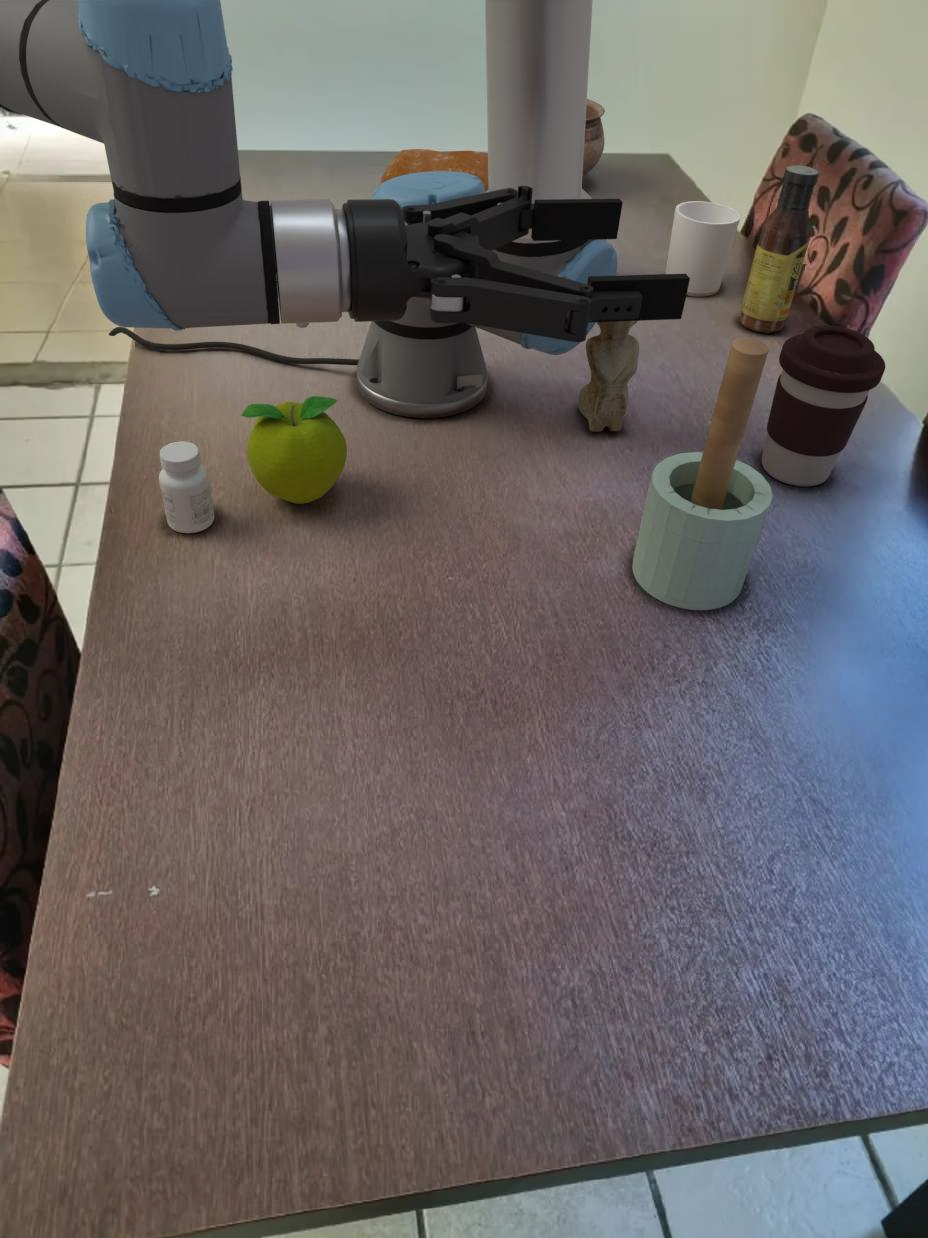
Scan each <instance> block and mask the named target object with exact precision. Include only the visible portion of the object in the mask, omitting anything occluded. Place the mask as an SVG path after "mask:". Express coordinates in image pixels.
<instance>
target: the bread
mask: <svg viewBox="0 0 928 1238" xmlns="http://www.w3.org/2000/svg"><path fill="white" fill-rule="evenodd" d="M430 171H451V172H462V173H468V174H471V175H474V176H477V177H478V178H479V179H480V180H481V181H482V182H483V184H484V190H485V192H486V191H487V190H488V152H482V151H475V150H451V151H450V150H449V151H440V150H439V151H438V150H433V149H429V148H428V149H427V148H426V149H425V148H410V149H402V150H401V151H399V152H398V153H397V154H396V155H395V156H393V158H392V159H391V161H390V162H389V164H388V165H387V167H386V168H385V170H384V172H383V173H382V176H381V179H380V181H379V185H381V184H382V183H384V182H385V181H387V180H390V179H392V178H395V177H399V176H402V175H407V174H412V173H420V172H430Z"/></svg>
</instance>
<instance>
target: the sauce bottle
mask: <svg viewBox="0 0 928 1238" xmlns="http://www.w3.org/2000/svg"><path fill="white" fill-rule="evenodd" d="M819 175H820V172H819V170H817V169H815V168H813V167H810V166H806V165H799V164H798V165H797V164H795V165H788V166H786V167H785V170H784V173H783V177H782V188H781V191H780V195H779V198H778V199H777V206H776V208H775V209H773V211H771V213H770V214H769V215H768V216H767V218H766V219H765V221H764V222H763V224H762V227H761V232H760V236H759V239H758V242H757V244H756V248H755V251H754V255H753V260H752V263H751V267H750V271H749V276H748V280H747V283H746V287H745V291H744V296H743V299H742V303H741V306H740V310H741V311H740V315H739V323H740V324H741V325H742V326H743V327H744V328H746V329H748V330H750V331H753V332H756V333H757V332H758V333H764V334H770V333H775V332H779V331H781V330H782V329H783V328H784V326H785V323H786V320H787V318H788V317H789V314H790V310H791V307H792V302H793V299H794V297H795V293H796V288H797V286H798V283H799V279H800V276H801V272H802V268H803V265H804V261H805V258H806V254H807V251H808V247H809V245H810V240H811V233H810V232H811V231H810V212H809V208H810V204H811V203H810V202H811V199H812V196H813V192H814V189H815V186H816V185H817V183H818V180H819Z"/></svg>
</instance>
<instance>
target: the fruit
mask: <svg viewBox="0 0 928 1238" xmlns="http://www.w3.org/2000/svg"><path fill="white" fill-rule="evenodd" d="M337 402H338V399H336V398H334V397H333V398H332V397H328V396H319V395H317V396H316V395H313V396H309V397H307V398H306V399H304V401H303V402H296V401H285V402H282V403H280V404H277V405H275V406H274V405H272V404H269V403H251V404H248V405H247V406H246V407H245V409H244V410H243V411H242V413H241V414H240V416H242V417H244V418H249V419H251V418H256V420H255V422H254V425H253V427H252V429H251V432H250V435H249V437H248V441H247V444H246V445H247V446H246V457H247V462H248V464H249V466H250V469H251V471H252V475H253V476H254V478H255V479H256V481H257V482H258V484H259V485H260V486H261V487H262V488H263V489H264V490H265V491H266V492H267V493H269V494H270V495H272V496H273V497H275V498H278V499H280V500H283V501H286V502H289V503H292V504H296V505H303V504H308V503H311V502H314V501H316V500H319V499H320V498H322V497H323V496H324V495H325V494H327V492H329V490H331V488H332V487H333V486H334V485H335V483H336V482H337V481H338V479H339V478H340V476H341V475H342V473H343V470H344V467H345V464H346V460H347V456H348V455H347V454H348V453H347V452H348V448H347V447H348V446H347V441H346V438H345V436H344V434H343V432H342V431H341V429H340V427H339V426H338V425H337V423H336V422H335V421H334V420H333V419H332V418H331V417H330V416H329V415H328V413H326V412H325V411H327V410H328V409H330V408H332V407H333V406H334V405H335V404H337Z"/></svg>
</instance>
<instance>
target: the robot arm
mask: <svg viewBox="0 0 928 1238" xmlns="http://www.w3.org/2000/svg"><path fill="white" fill-rule="evenodd" d="M593 2H594V1H593V0H484V5H485V7H484V8H485V11H484V13H485V15H484V16H485V62H486V63H485V65H486V68H485V71H486V120H487V121H486V125H487V126H486V127H487V129H486V131H487V153H488V190H487V191H486V192H485V190H484V184H483V182H482V181H481V180H480V179H479V178H478V177H477V176H474V175H471V174H468V173H462V172H451V171H430V172H420V173H412V174H407V175H402V176H399V177H395V178H392V179H390V180H387V181H385V182H384V183H382V184H381V185H380V184H379V185H378V186H377V187H376V188H375V190H374V191H373V193H372V195H371V199H370V198H369V199H347V201H346V202H344V203H343V204H342V205H341V209H339V208H336V206H335V204H334V202H333V201H332V200H331V199H330V198H317V199H316V198H315V199H314V198H311V199H309V198H308V199H271V200H259V201H253V200H245V199H243V191H242V190H243V189H242V177H241V171H240V159H239V146H238V134H237V124H236V112H235V111H236V110H235V102H234V89H233V77H232V75H233V73H232V72H233V59H232V55H231V54H230V51H229V47H228V41H227V35H226V30H225V22H224V15H223V10H222V9H223V8H222V4H221V0H0V109H2V110H4V111H5V112H7V113H11V114H16V115H20V116H21V115H22V116H26V117H29V118H31V119H35V120H38V121H41V122H44V123H47V124H50V125H53V126H56V127H59V128H61V129H64V130H67V131H69V132H71V133H74V134H77V135H80V136H82V137H85V138H87V139H90V140H93V141H96V142H98V143H101V144H103V146H104V151H105V155H106V160H107V165H108V171H109V176H110V180H111V185H112V190H113V199H109V201H108V202H97V203H95V204H93V205H91V206H90V208H89V209H88V211H87V213H86V219H85V242H86V243H85V244H86V251H87V255H88V260H89V263H90V265H89V270H90V277H91V282H92V286H93V289H94V294H95V296H96V300H97V303H98V305H99V308H100V310H101V312H102V314H103V315H104V317H106V319H107V320H108V321H109V322H111V323H112V324H114V325H115V326H116V327H114V328H112V329H111V330H110V332H109V333H108V336H110V337H115V336H116V335H118V334H124V335H125V336H128V337H129V338H130V339H131V340H133V341H134V342H135V343H138V344H139V345H141V346H143V347H146V348H148V349H151V350H160V351H183V350H185V351H186V350H195V349H197V350H198V349H212V348H213V349H214V348H215V349H217V348H219V349H232V350H238V351H243V352H247V353H251V354H255V355H257V356H260V357H263V358H266V359H270V360H273V361H277V362H282V363H287V364H295V365H339V366H340V365H341V366H356V387H357V390H358V393H359V394H360V396H361V397H362V398H363V399H364V400H365V401H366V402H367V403H368V404H370V405H372V406H373V407H375V408H376V409H379V410H382V411H384V412H385V413H386V412H387V413H389V414H393V415H397V416H400V417H401V416H402V417H408V418H417V419H434V418H435V419H436V418H444V417H449V416H454V415H458V414H461V413H464V412H466V411H469V410H470V409H472V408H474V407H475V406H477V405H478V404H480V403H481V401H482V400H483V399H484V398H485V396H486V394H487V387H488V376H489V375H488V374H489V373H488V369H487V365H486V362H485V361H486V360H485V356H484V353H483V349H482V346H481V342H480V338H479V335H478V334H479V333H478V330H477V329H480V330H482V331H485V332H488V333H489V334H492V335H495V336H497V337H500V338H502V339H505V340H507V341H510V342H513V343H514V344H518V345H520V346H521V347H522V348H523V349H525V350H530V349H531V350H535V351H538V352H541V353H544V354H547V355H551V356H559V355H563V354H567V353H569V352H570V351H572V350H574V349H575V348H576V347H577V346H578V345H579V344H580V343H583V342H585V341H587V336H588V334H589V333H590V332H591V331H592V330H593V328H594V327H595V325H596V324H597V322H617V321H637V322H639V321H642V322H643V321H666V320H668V321H669V320H671V321H672V320H682V316H683V313H684V308H685V303H686V299H687V296H688V295H687V290H688V286H689V281H690V278H689V277H688V276H687V274H665V273H660V274H659V273H658V274H655V273H654V274H626V275H625V274H623V275H617V269H618V254H617V251H616V249H615V248H614V245H613V244H611V243H610V242H608V240H617V239H618V235H619V228H620V222H621V216H622V210H623V203H624V202H623V200H622V199H621V198H592V197H591V196H590V195H589V194H588V192H586V191H585V190H584V189H583V176H582V174H583V157H584V139H585V122H586V105H587V99H588V87H589V86H588V84H589V72H590V71H589V70H590V68H589V67H590V53H591V51H590V50H591V34H592V18H593ZM270 206H271V213H270ZM271 216H272V223H271ZM272 229H273V233H272ZM273 242H274V244H273ZM274 253H275V256H274ZM343 313H348V316H349V318H350V319H351V320H353V321H354V322H355V323H361V322H362V323H363V322H364V323H366V322H370V324H369V328H368V332H367V335H366V338H365V341H364V344H363V347H362V349H361V353H360V355H359V358H356V359H355V358H338V357H337V358H335V357H292V356H286V355H282V354H277V353H273V352H270V351H267V350H265V349H260V348H257V347H255V346H251V345H248V344H242V343H237V342H229V341H200V342H199V341H198V342H189V343H187V342H186V343H160V342H159V343H158V342H152V341H149V340H147V339H144V338H142V337H141V336H139V335H138V334H137V333H135V332H133V330H130V329H129V328H132V329H133V328H137V329H171V330H174V331H177V332H180V331H184V330H186V329H193V328H194V329H195V328H215V327H231V326H232V327H233V326H247V325H248V326H250V325H267V324H269V325H280V324H281V325H282V324H284V325H285V324H295V326H296V327H298V328H301V329H303V328H304V329H305V328H307V327H308V326H309V325H310V323H311V324H314V323H338V322H339V321H340V320H341V318H342V317H343Z"/></svg>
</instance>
